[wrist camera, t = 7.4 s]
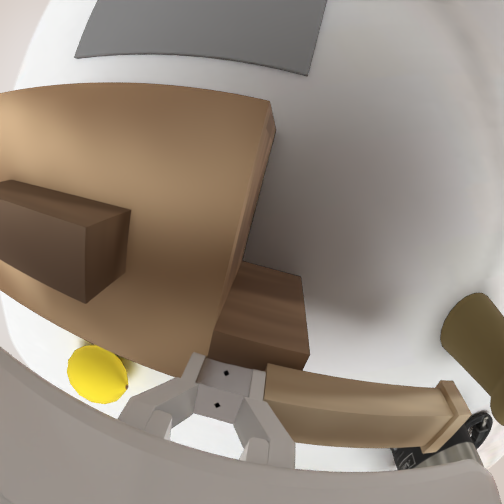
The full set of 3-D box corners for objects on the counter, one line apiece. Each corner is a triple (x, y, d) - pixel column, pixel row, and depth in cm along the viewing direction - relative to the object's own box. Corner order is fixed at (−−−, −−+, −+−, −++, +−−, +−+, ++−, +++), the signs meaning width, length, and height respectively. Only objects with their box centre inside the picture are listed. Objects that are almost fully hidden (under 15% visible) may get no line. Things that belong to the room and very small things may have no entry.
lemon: (95, 368, 25) (65, 396, 20) (82, 326, 23) (45, 354, 18) (148, 390, 23) (118, 426, 18) (137, 346, 22) (100, 384, 17)
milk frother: (389, 415, 22) (419, 540, 8) (507, 364, 19) (565, 449, 5) (382, 470, 26) (396, 557, 12) (479, 431, 23) (510, 503, 9)
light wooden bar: (270, 353, 11) (266, 399, 8) (452, 381, 11) (472, 414, 8) (252, 399, 12) (244, 443, 9) (423, 418, 12) (435, 451, 9)
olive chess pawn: (441, 362, 20) (490, 451, 9) (437, 312, 18) (508, 406, 8) (490, 333, 18) (549, 405, 8) (491, 281, 17) (571, 350, 6)
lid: (17, 96, 11) (-42, 94, 6) (272, 112, 10) (264, 75, 5) (8, 269, 14) (-40, 297, 10) (211, 357, 14) (185, 430, 9)
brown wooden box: (72, 103, 16) (-8, 94, 8) (339, 148, 16) (386, 138, 8) (56, 245, 20) (-13, 281, 12) (285, 319, 20) (284, 406, 12)
